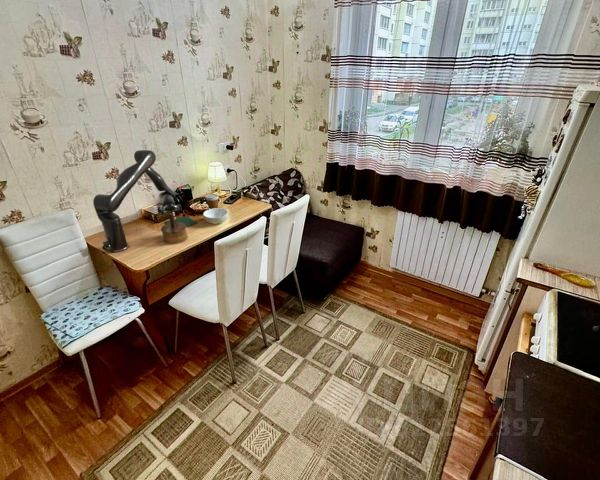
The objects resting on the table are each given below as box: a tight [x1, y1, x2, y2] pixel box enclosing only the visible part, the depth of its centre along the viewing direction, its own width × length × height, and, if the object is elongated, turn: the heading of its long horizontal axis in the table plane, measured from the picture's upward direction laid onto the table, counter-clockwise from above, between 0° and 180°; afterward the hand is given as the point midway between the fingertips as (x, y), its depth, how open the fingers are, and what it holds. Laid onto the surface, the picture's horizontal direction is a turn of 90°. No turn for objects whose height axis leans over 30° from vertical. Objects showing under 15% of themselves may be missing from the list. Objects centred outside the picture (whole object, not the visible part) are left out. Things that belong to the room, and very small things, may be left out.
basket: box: [161, 227, 188, 245], centre depth 191 cm, size 14×14×8 cm
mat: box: [164, 215, 198, 228], centre depth 212 cm, size 16×16×1 cm
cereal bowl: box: [202, 207, 229, 225], centre depth 214 cm, size 17×17×7 cm
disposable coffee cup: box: [205, 193, 220, 209], centre depth 230 cm, size 10×10×12 cm
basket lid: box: [160, 212, 187, 233], centre depth 187 cm, size 15×15×10 cm
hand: (170, 212), depth 191 cm, fingers open, 8 cm apart
